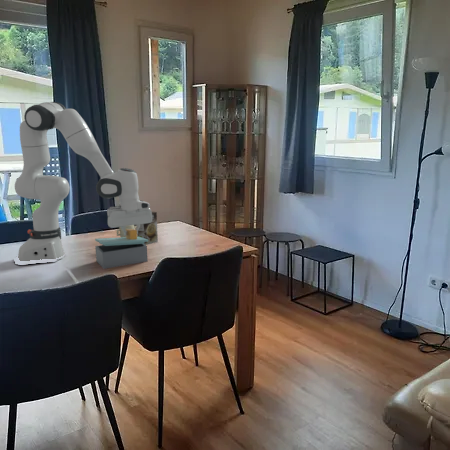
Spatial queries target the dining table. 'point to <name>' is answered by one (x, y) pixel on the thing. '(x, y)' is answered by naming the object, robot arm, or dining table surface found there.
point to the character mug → (123, 231)
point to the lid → (123, 239)
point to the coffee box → (149, 230)
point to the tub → (120, 255)
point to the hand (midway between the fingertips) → (131, 234)
